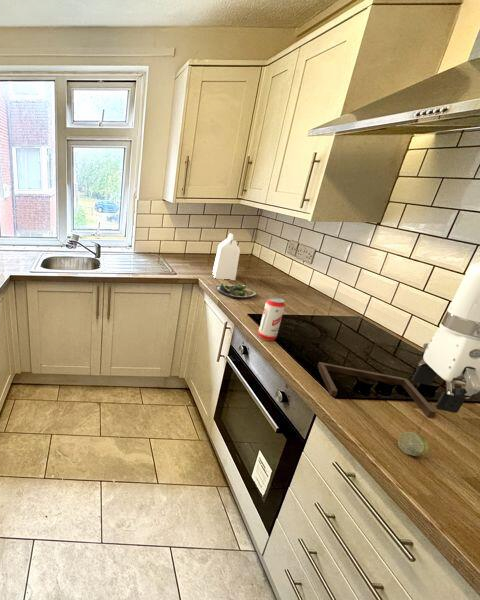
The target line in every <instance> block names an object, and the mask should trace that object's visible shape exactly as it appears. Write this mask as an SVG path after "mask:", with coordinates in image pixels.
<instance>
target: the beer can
mask: <svg viewBox="0 0 480 600" xmlns="http://www.w3.org/2000/svg"><path fill="white" fill-rule="evenodd" d="M285 307H286V304H285V300H284V299H282V298H280V297H274V296H272V297H271V296H270V297H268V299H267V300H266V302H265V305H264V308H263V313H262V316H261V320H260V325H259V328H258V332H257V335H258V337H259V338H260V339H262V341H263V340H264V341H268V342H272V341H274V340H276V339H277V337H278V333H279V330H280V326H281V322H282V320H283V319H282V318H283V316H284V312H285Z"/></svg>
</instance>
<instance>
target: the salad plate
mask: <svg viewBox="0 0 480 600" xmlns="http://www.w3.org/2000/svg"><path fill="white" fill-rule="evenodd" d="M214 287H215V288H216V291H217V292H218V293H219V294H220V295H222V296H224V297H226V298H230V299H234V300H244V299H248V298H249V299H250V298H251V297H254V296H256V295H257V292H256V291H254V290H251V289H250V288H251V286H246V285H245V284H243V285H242V284H228V285H227V284H226V283H221V284H220V285H215V286H214Z"/></svg>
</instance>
